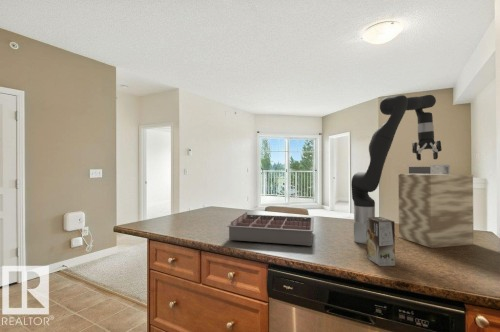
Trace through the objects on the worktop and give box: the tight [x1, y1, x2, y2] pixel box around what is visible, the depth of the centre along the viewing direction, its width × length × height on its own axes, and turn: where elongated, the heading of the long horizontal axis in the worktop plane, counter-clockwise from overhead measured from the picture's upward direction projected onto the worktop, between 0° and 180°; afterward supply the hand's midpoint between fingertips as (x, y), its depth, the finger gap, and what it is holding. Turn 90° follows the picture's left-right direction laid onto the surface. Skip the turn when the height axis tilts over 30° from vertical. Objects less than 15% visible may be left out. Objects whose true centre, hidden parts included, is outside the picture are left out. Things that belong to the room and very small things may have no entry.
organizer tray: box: [226, 211, 315, 246], centre depth 131 cm, size 32×40×10 cm
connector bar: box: [408, 164, 451, 174], centre depth 132 cm, size 20×5×5 cm, turn 13°
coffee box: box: [366, 216, 396, 267], centre depth 95 cm, size 9×6×16 cm
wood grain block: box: [398, 173, 475, 249], centre depth 123 cm, size 18×24×32 cm
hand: (427, 159), depth 143 cm, fingers open, 8 cm apart
